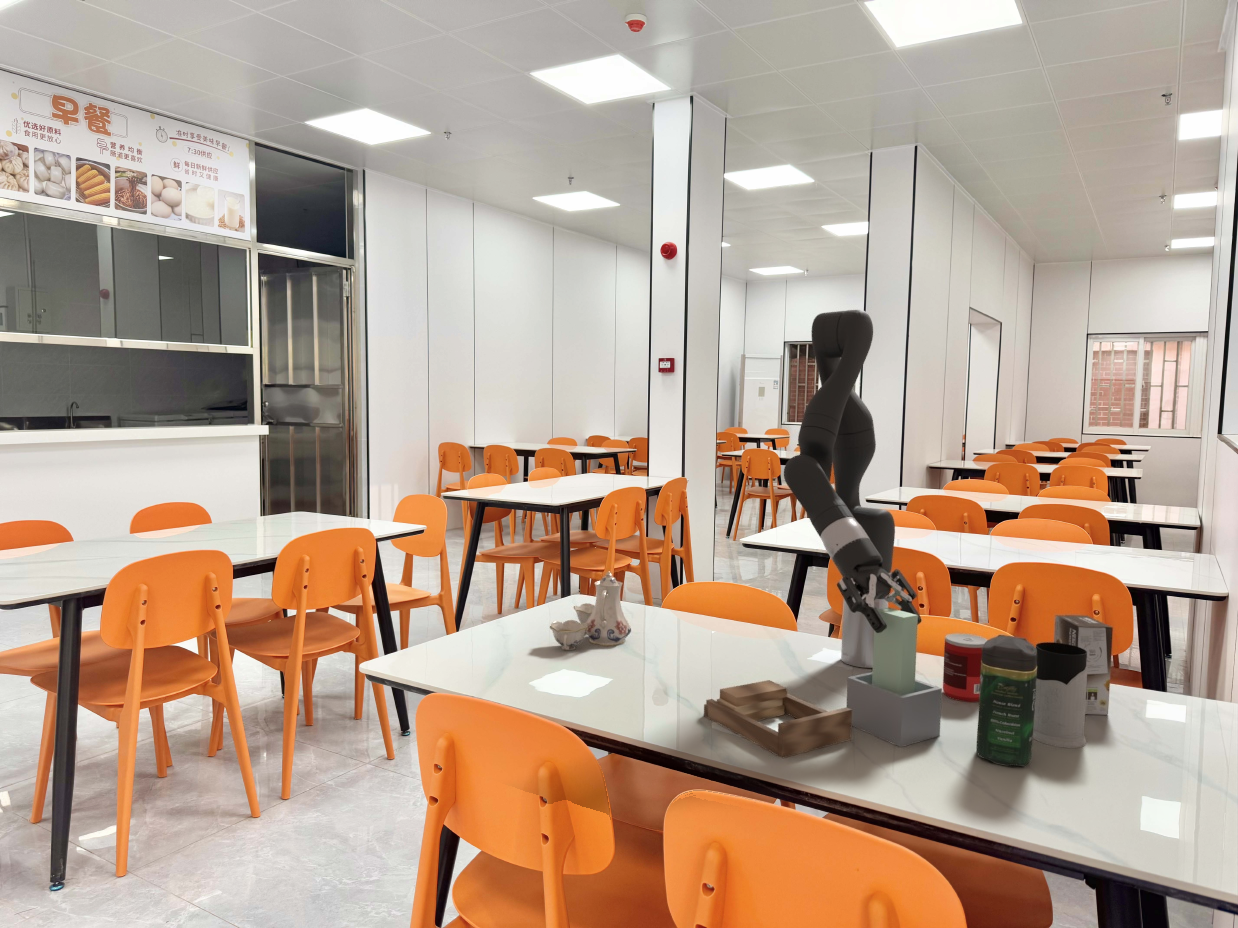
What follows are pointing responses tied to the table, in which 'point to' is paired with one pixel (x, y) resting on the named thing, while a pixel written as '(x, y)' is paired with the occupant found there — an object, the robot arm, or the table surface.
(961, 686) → the canned food
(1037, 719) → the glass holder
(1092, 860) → the table surface
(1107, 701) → the coffee box
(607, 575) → the chinaware
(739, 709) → the offcut stack
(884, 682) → the tall mint green block
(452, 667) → the table surface
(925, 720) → the grey holder
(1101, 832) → the table surface
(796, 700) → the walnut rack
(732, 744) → the table surface
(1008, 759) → the coffee jar
